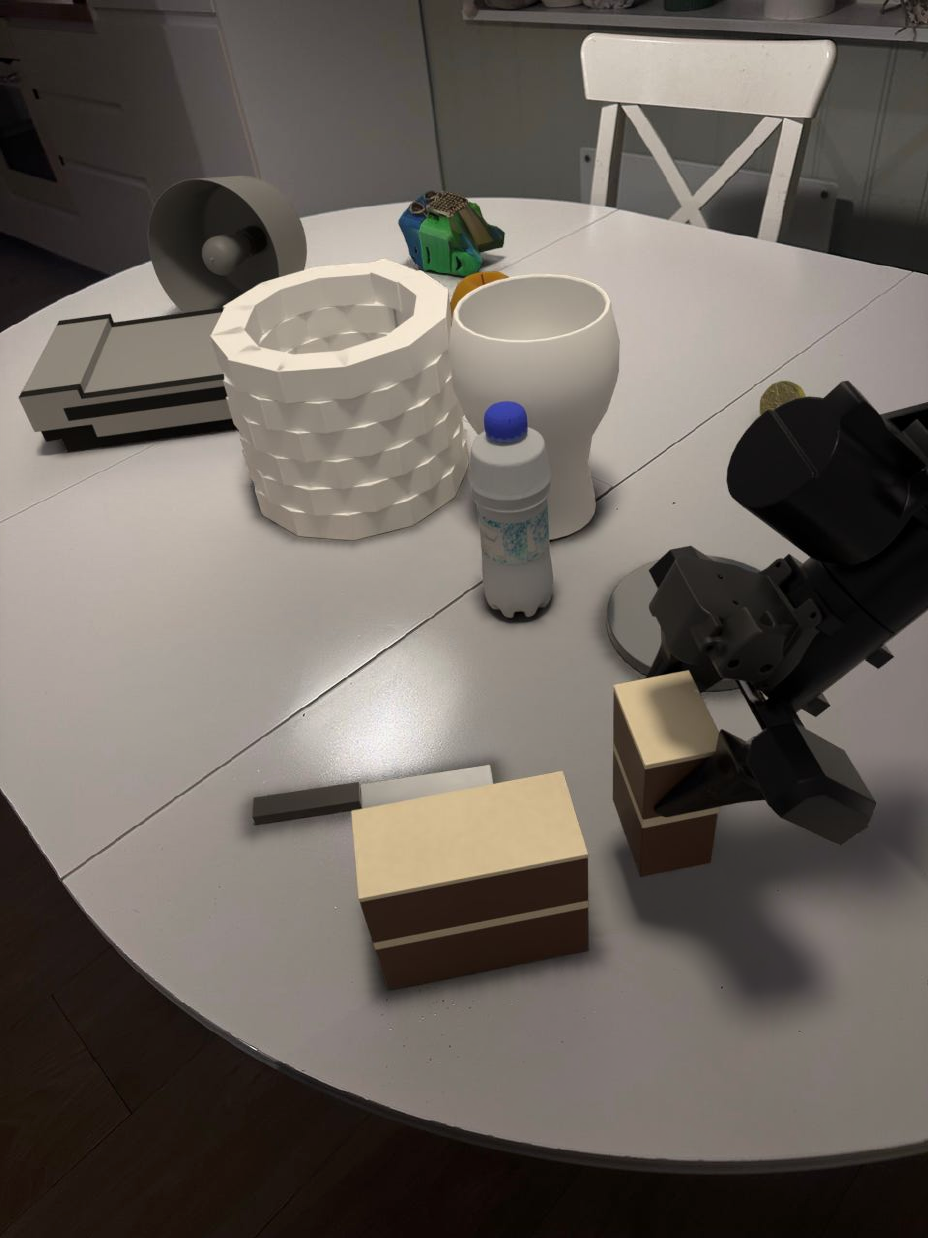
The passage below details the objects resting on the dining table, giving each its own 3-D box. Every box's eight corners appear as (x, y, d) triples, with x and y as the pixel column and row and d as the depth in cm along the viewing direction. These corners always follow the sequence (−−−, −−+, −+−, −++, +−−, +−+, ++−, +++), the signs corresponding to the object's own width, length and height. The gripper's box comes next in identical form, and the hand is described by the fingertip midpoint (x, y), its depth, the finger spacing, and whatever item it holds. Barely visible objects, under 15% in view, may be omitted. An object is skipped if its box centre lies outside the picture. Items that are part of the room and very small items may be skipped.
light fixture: (256, 173, 117) (345, 140, 138) (96, 187, 126) (202, 153, 146) (291, 333, 129) (369, 280, 149) (142, 335, 137) (235, 285, 158)
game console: (309, 422, 112) (294, 359, 106) (47, 458, 111) (18, 397, 106) (313, 345, 127) (300, 287, 121) (82, 377, 127) (59, 320, 121)
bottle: (472, 590, 86) (449, 398, 72) (538, 569, 87) (527, 377, 74) (499, 635, 81) (480, 438, 68) (568, 612, 82) (563, 414, 69)
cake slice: (678, 785, 61) (688, 669, 53) (711, 863, 56) (727, 748, 49) (612, 799, 60) (613, 684, 53) (639, 878, 56) (645, 765, 49)
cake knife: (490, 767, 70) (489, 758, 70) (494, 792, 69) (493, 784, 68) (256, 802, 70) (253, 794, 69) (255, 828, 68) (251, 820, 68)
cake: (566, 870, 63) (562, 770, 56) (588, 950, 59) (588, 854, 51) (379, 906, 63) (350, 810, 55) (388, 991, 58) (358, 899, 51)
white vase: (631, 475, 97) (637, 273, 82) (596, 565, 87) (596, 353, 72) (494, 459, 102) (477, 266, 87) (445, 543, 91) (417, 339, 77)
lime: (804, 435, 99) (812, 393, 96) (758, 434, 100) (763, 393, 97) (802, 413, 103) (809, 372, 99) (757, 413, 104) (762, 372, 100)
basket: (351, 571, 90) (310, 397, 77) (212, 488, 103) (158, 328, 90) (521, 455, 102) (510, 288, 89) (377, 394, 115) (350, 242, 102)
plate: (810, 583, 82) (813, 573, 81) (779, 711, 72) (781, 701, 71) (635, 551, 88) (635, 541, 87) (582, 665, 77) (582, 655, 77)
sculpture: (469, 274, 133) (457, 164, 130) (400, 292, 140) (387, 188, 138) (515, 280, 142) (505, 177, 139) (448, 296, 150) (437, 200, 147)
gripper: (691, 422, 50) (506, 612, 57) (858, 661, 36) (587, 873, 43) (810, 514, 55) (629, 675, 62) (993, 749, 42) (735, 924, 48)
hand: (641, 769), depth 54 cm, fingers closed on cake slice, 6 cm apart
